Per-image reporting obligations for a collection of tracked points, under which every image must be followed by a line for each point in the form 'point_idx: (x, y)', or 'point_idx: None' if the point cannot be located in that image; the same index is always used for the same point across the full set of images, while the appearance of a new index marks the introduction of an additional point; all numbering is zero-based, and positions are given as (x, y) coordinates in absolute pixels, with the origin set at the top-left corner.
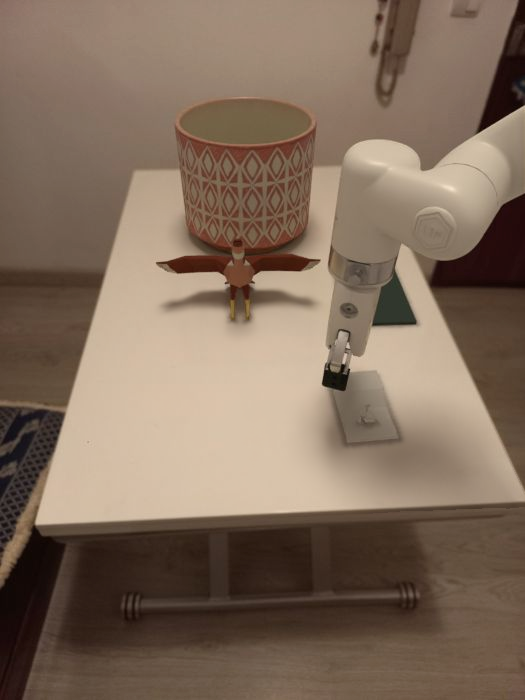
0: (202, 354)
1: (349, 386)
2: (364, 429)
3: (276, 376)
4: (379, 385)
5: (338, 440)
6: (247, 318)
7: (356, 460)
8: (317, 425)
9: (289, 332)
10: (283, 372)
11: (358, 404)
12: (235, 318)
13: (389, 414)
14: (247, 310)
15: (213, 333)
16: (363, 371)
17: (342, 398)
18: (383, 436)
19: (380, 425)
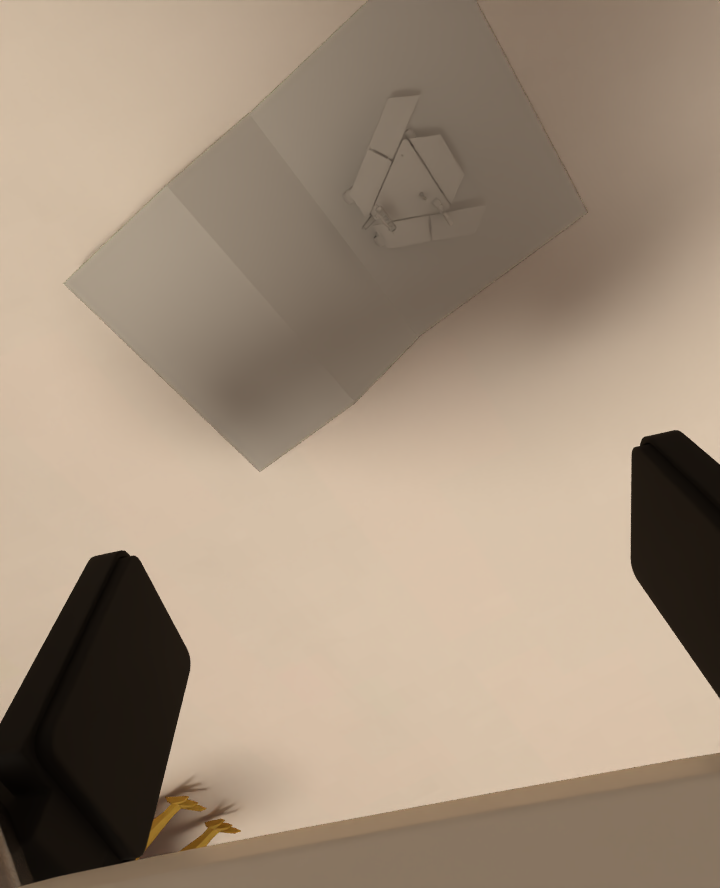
0: (416, 794)
1: (279, 362)
2: (469, 167)
3: (377, 610)
4: (162, 217)
5: (587, 259)
6: (193, 801)
7: (676, 122)
8: (542, 378)
9: None
10: (343, 602)
11: (338, 267)
12: (221, 820)
13: (296, 71)
14: (163, 823)
15: (316, 816)
16: (128, 343)
17: (359, 356)
18: (470, 39)
19: (401, 91)
